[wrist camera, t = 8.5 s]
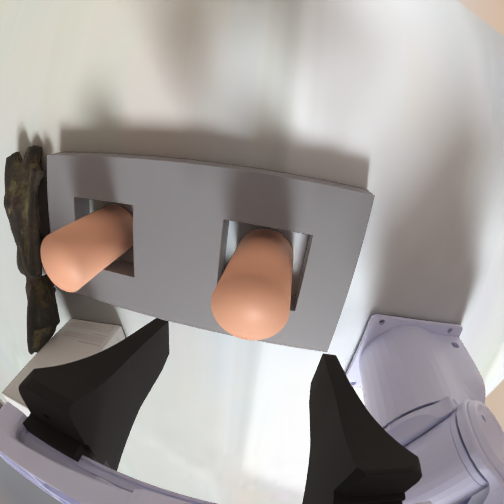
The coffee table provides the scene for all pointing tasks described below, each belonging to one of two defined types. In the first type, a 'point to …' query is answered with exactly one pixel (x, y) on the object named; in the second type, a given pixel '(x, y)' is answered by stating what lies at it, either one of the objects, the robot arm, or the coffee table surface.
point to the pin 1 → (86, 246)
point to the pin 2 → (255, 287)
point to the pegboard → (212, 234)
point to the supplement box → (66, 351)
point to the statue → (30, 244)
